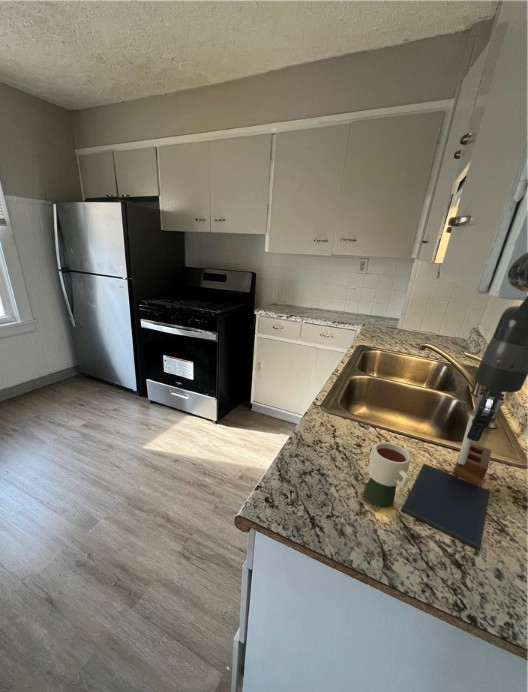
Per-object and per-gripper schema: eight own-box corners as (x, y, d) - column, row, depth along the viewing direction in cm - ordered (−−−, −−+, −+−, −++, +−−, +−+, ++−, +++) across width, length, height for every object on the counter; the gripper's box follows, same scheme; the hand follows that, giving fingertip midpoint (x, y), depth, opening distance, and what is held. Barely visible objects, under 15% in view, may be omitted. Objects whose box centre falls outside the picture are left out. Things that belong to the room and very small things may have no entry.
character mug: (408, 515, 66) (426, 467, 60) (379, 521, 64) (395, 472, 59) (376, 479, 75) (389, 435, 70) (350, 484, 74) (361, 438, 68)
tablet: (423, 465, 81) (423, 463, 81) (488, 492, 73) (490, 490, 73) (400, 511, 67) (401, 508, 67) (479, 551, 59) (480, 547, 59)
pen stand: (458, 455, 85) (464, 440, 83) (484, 465, 82) (491, 450, 80) (452, 474, 78) (458, 458, 76) (479, 485, 75) (487, 469, 73)
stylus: (457, 463, 72) (470, 413, 67) (464, 466, 71) (478, 415, 66) (456, 466, 71) (469, 415, 66) (463, 469, 70) (477, 417, 65)
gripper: (531, 378, 53) (491, 460, 61) (530, 359, 63) (496, 431, 70) (478, 366, 58) (447, 444, 65) (485, 349, 67) (457, 418, 75)
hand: (473, 437), depth 68 cm, fingers closed on stylus, 1 cm apart
